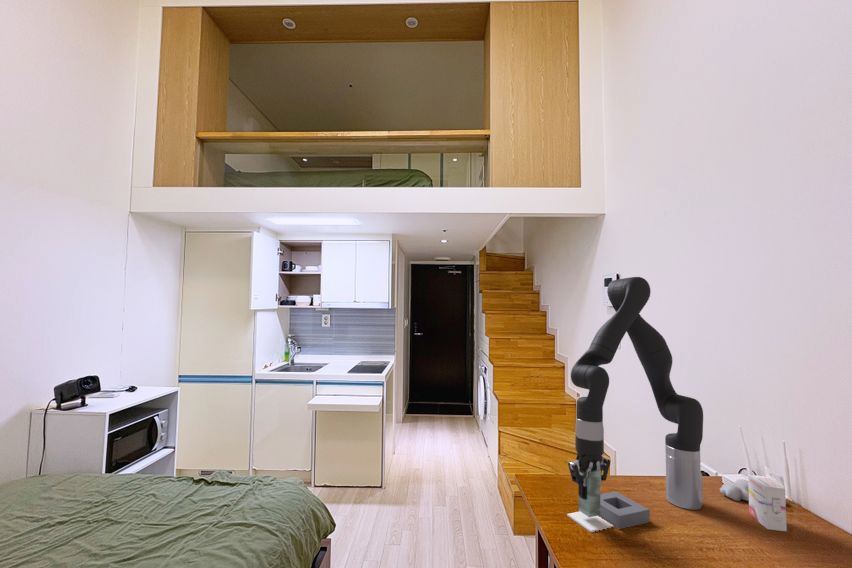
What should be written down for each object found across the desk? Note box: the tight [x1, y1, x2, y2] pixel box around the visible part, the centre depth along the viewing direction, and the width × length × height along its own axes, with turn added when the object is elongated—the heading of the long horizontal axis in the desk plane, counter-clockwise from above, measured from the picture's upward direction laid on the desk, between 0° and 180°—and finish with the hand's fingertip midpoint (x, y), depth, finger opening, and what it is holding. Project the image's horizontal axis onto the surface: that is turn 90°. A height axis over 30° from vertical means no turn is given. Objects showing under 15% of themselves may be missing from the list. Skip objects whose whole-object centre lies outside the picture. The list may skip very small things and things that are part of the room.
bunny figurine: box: [719, 479, 749, 502], centre depth 125 cm, size 10×5×15 cm
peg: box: [578, 470, 601, 517], centre depth 108 cm, size 4×4×12 cm
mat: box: [566, 510, 614, 534], centre depth 107 cm, size 8×9×1 cm
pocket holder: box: [598, 490, 650, 530], centre depth 111 cm, size 12×12×4 cm
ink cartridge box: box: [747, 465, 788, 532], centre depth 110 cm, size 9×5×15 cm, turn 168°
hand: (589, 496), depth 108 cm, fingers closed on peg, 4 cm apart
